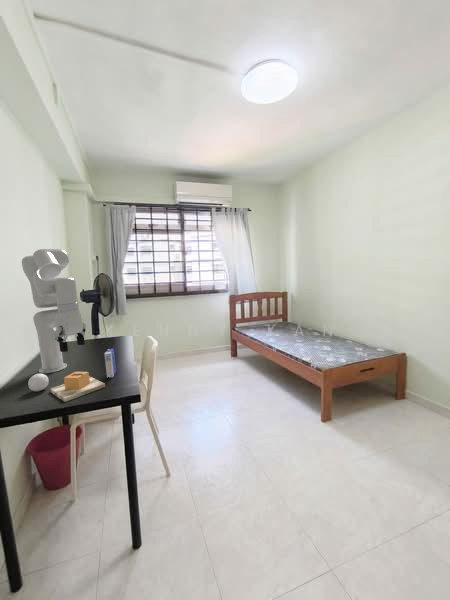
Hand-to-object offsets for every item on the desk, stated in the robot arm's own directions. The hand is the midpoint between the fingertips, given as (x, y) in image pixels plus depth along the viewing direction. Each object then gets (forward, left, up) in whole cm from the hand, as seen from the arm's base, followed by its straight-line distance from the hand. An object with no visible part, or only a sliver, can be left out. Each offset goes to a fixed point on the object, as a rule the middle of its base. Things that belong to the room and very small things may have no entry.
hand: (73, 348), depth 112 cm
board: (0, 0, -18) cm, 18 cm away
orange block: (0, 0, -17) cm, 17 cm away
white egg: (-13, -11, -18) cm, 25 cm away
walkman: (-4, +17, -18) cm, 25 cm away
